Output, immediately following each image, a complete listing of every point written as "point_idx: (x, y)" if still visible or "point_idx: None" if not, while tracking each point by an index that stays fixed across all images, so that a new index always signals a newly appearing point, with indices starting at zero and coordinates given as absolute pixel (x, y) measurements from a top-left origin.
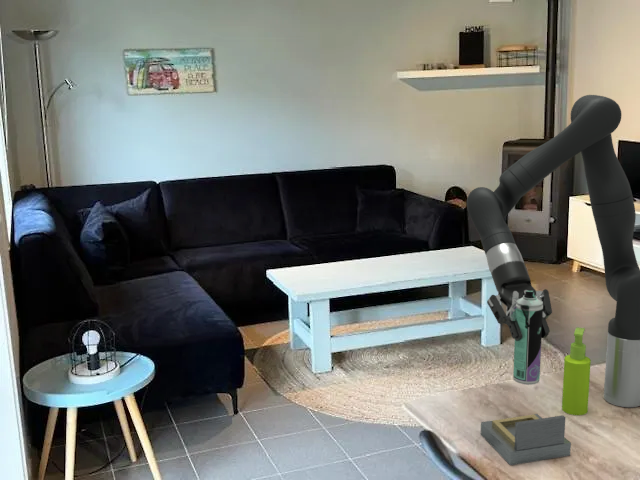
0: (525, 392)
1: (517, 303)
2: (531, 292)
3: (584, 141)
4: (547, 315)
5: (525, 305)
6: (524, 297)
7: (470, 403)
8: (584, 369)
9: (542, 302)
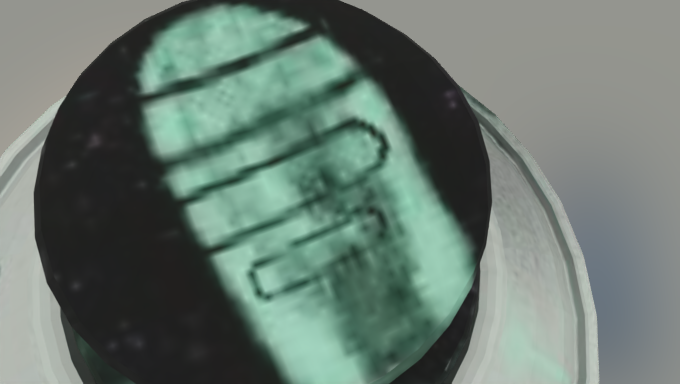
0: None
1: (582, 357)
2: (321, 4)
3: None
4: None
5: (493, 122)
6: (496, 234)
7: None
8: None
9: (36, 120)
